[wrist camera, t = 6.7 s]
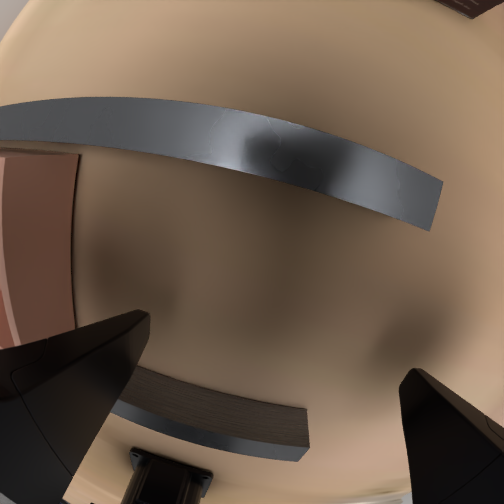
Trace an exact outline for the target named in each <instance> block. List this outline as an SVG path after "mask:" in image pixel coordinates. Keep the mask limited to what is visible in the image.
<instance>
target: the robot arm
mask: <svg viewBox="0 0 504 504" xmlns="http://www.w3.org/2000/svg"><path fill="white" fill-rule="evenodd" d="M149 334H150V314H149V313H148V312H145V311H142V310H139V309H137V310H134V311H131V312H128V313H125V314H121V315H118V316H115V317H112V318H109V319H106V320H103V321H100V322H96V323H93V324H90V325H87V326H84V327H80V328H77V329H74V330H71V331H68V332H64V333H61V334H58V335H54V336H51V337H48V339H47V338H44V339H41V340H38V341H34V342H30V343H27V344H23V345H19V346H14V347H9V348H4V349H0V504H59V503H60V501H61V499H62V498H63V496H64V494H65V492H66V490H67V488H68V486H69V484H70V482H71V480H72V479H73V477H72V476H74V475H75V473H76V471H77V469H78V467H79V465H80V464H81V462H82V460H83V458H84V456H85V455H86V453H87V451H88V449H89V448H90V446H91V444H92V442H93V441H94V439H95V437H96V435H97V434H98V432H99V430H100V428H101V427H102V425H103V423H104V422H105V420H106V418H107V416H108V415H109V413H110V411H111V410H112V408H113V406H114V405H115V403H116V401H117V400H118V398H119V396H120V395H121V393H122V392H123V390H124V388H125V387H126V385H127V383H128V382H129V380H130V378H131V376H132V374H133V372H134V370H135V368H136V365H137V363H138V361H139V359H140V357H141V355H142V352H143V350H144V348H145V346H146V344H147V342H148V339H149ZM399 397H400V406H401V416H402V425H403V431H404V437H405V443H406V449H407V456H408V463H409V470H410V479H411V489H412V500H413V504H504V428H503V427H502V426H500V425H499V424H497V423H496V422H495V421H493V420H492V419H490V418H489V417H488V416H486V415H484V414H483V413H482V412H481V411H479V410H478V409H477V408H475V407H474V406H472V405H471V404H470V403H468V402H467V401H466V400H464V399H463V398H461V397H460V396H459V395H457V394H456V393H454V392H453V391H452V390H450V389H449V388H448V387H446V386H445V385H443V384H442V383H441V382H439V381H438V380H436V379H435V378H434V377H432V376H431V375H430V374H428V373H427V372H425V371H424V370H423V369H420V368H412V369H411V370H410V371H409V372H408V374H407V375H406V377H405V378H404V380H403V381H402V382H401V384H400V386H399ZM129 454H130V458H131V462H132V466H133V470H134V473H133V475H132V478H131V480H130V482H129V485H128V487H127V489H126V492H125V494H124V497H123V499H122V501H121V504H199V503H200V499H201V498H204V496H205V494H206V492H207V490H208V488H209V486H210V483H211V481H212V478H213V474H212V473H210V472H207V471H203V470H199V469H195V468H191V467H188V466H184V465H181V464H177V463H174V462H171V461H168V460H165V459H162V458H159V457H156V456H153V455H151V454H148V453H145V452H143V451H140V450H138V449H135V448H131V450H130V452H129ZM90 504H94V503H90Z"/></svg>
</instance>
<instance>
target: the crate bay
mask: <svg viewBox="0 0 504 504" xmlns="http://www.w3.org/2000/svg"><path fill="white" fill-rule="evenodd" d="M0 140H29V141H49V142H63V143H75V144H85V145H95V146H103V147H112V148H119V149H126V150H133V151H140V152H146V153H153V154H159V155H164V156H170V157H176V158H181V159H186V160H191V161H196V162H201V163H206V164H211V165H215V166H220V167H225V168H229V169H233V170H238V171H242V172H246V173H250V174H254V175H258V176H262V177H266V178H270V179H274V180H277V181H281V182H285V183H288V184H292V185H295V186H299V187H302V188H306V189H309V190H313V191H316V192H319V193H323V194H326V195H329V196H332V197H335V198H339V199H342V200H345V201H348V202H351V203H354V204H357V205H360V206H363V207H366V208H368V209H371V210H374V211H377V212H380V213H383V214H385V215H388V216H391V217H393V218H396V219H399V220H401V221H404V222H407V223H409V224H412V225H414V226H417V227H419V228H422V229H424V230H427V231H430V228H431V225H432V222H433V218H434V215H435V212H436V208H437V205H438V201H439V197H440V193H441V190H442V185H443V181H441V180H439V179H437V178H435V177H433V176H431V175H429V174H427V173H425V172H423V171H421V170H419V169H417V168H415V167H412V166H410V165H408V164H406V163H404V162H402V161H399V160H397V159H395V158H392V157H390V156H388V155H385V154H383V153H380V152H378V151H376V150H373V149H371V148H368V147H365V146H363V145H360V144H357V143H355V142H352V141H349V140H346V139H343V138H341V137H338V136H335V135H332V134H329V133H325V132H322V131H319V130H316V129H313V128H309V127H306V126H302V125H299V124H295V123H291V122H288V121H284V120H280V119H276V118H272V117H268V116H263V115H259V114H254V113H250V112H245V111H240V110H235V109H229V108H224V107H218V106H212V105H205V104H198V103H191V102H182V101H173V100H163V99H150V98H132V97H79V98H62V99H50V100H40V101H32V102H25V103H18V104H12V105H6V106H1V107H0ZM110 412H111V413H113V414H115V415H118V416H120V417H122V418H124V419H127V420H129V421H131V422H134V423H136V424H139V425H141V426H144V427H146V428H149V429H152V430H154V431H157V432H160V433H163V434H166V435H169V436H172V437H175V438H178V439H181V440H185V441H188V442H191V443H195V444H199V445H202V446H206V447H210V448H214V449H219V450H223V451H228V452H232V453H237V454H243V455H248V456H254V457H261V458H268V459H275V460H284V461H295V462H298V461H299V460H300V459H301V458H302V456H303V455H304V454H305V453H306V452H307V451H308V449H309V448H310V443H309V431H308V419H307V409H300V408H293V407H287V406H280V405H275V404H269V403H264V402H259V401H254V400H249V399H245V398H240V397H236V396H232V395H228V394H224V393H220V392H216V391H212V390H208V389H205V388H201V387H198V386H194V385H191V384H188V383H185V382H182V381H178V380H175V379H172V378H169V377H166V376H163V375H161V374H158V373H155V372H152V371H150V370H147V369H144V368H142V367H139V366H137V365H136V368H135V370H134V372H133V374H132V376H131V378H130V380H129V382H128V383H127V385H126V387H125V388H124V390H123V392H122V393H121V395H120V396H119V398H118V400H117V401H116V403H115V405H114V406H113V408H112V410H111V411H110Z"/></svg>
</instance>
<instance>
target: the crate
mask: <svg viewBox="0 0 504 504" xmlns="http://www.w3.org/2000/svg"><path fill="white" fill-rule="evenodd" d="M78 156H79V154H71V153H63V152H53V151H43V150H31V149H18V148H0V349H4V348H9V347H14V346H19V345H23V344H27V343H30V342H34V341H38V340H41V339H44V338H47V339H48V337H51V336H54V335H58V334H61V333H64V332H68V331H71V330H74V329H75V321H74V312H73V301H72V287H71V219H72V204H73V193H74V184H75V176H76V169H77V162H78Z"/></svg>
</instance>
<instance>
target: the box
mask: <svg viewBox="0 0 504 504" xmlns="http://www.w3.org/2000/svg"><path fill="white" fill-rule="evenodd" d="M436 1H438V2H440V3H442V4H444V5H446V6H448V7H450V8H452V9H454V10H456V11H457V12H458V13H461V14H462V15H464V16H466V17H469V18H471V19H474V18H475V17H477V16H478V15H480V14H482V13H484V12H486V11H488V10H490V9H492V8H493V7H495V6H496V5H499V4H501V3H503V2H504V0H436Z"/></svg>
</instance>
